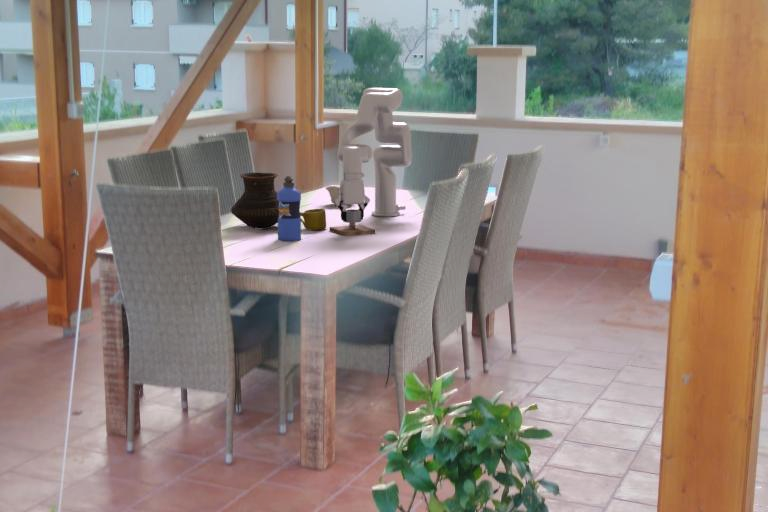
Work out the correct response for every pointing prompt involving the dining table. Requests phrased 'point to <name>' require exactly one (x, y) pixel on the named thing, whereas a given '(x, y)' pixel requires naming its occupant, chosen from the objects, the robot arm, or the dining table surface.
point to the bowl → (333, 192)
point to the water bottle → (289, 212)
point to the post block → (352, 230)
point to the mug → (314, 219)
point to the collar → (353, 216)
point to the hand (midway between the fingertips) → (352, 219)
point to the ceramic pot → (257, 201)
